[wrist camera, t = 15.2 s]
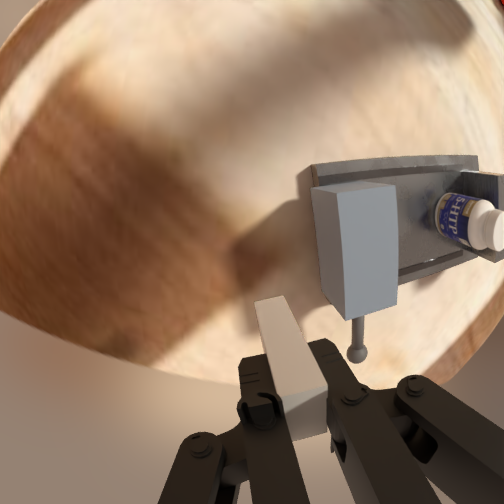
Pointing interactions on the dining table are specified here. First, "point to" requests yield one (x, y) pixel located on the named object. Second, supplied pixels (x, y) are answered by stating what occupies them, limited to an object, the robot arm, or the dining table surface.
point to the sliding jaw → (357, 251)
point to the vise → (422, 204)
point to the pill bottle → (470, 221)
